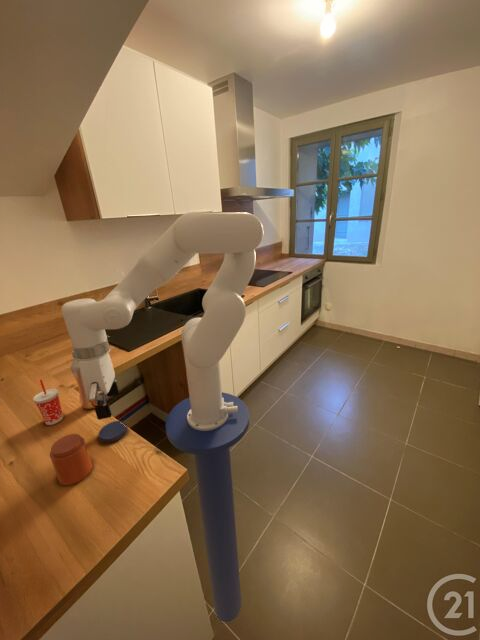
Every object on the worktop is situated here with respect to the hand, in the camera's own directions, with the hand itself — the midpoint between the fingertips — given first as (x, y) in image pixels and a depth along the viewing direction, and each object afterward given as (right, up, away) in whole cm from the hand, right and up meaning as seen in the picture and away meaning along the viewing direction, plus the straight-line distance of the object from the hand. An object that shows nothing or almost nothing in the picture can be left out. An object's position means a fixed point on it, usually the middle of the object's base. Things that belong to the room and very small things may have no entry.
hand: (109, 405), depth 70 cm
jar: (-4, -13, -9) cm, 16 cm away
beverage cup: (-22, -8, +10) cm, 25 cm away
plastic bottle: (-13, -5, +16) cm, 21 cm away
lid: (0, -8, +2) cm, 8 cm away
